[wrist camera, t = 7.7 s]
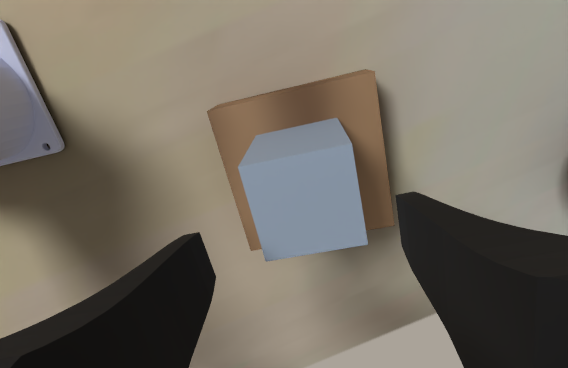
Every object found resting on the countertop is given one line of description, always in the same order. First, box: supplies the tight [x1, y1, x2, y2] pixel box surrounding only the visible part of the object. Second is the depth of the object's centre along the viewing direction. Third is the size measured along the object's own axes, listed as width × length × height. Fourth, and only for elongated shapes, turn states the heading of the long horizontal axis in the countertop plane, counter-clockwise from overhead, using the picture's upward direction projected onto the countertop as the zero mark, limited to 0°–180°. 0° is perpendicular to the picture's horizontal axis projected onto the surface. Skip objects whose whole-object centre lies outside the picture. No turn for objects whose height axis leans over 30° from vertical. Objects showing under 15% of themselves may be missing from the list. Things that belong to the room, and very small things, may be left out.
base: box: [207, 69, 394, 251], centre depth 20 cm, size 9×9×2 cm
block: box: [238, 118, 368, 261], centre depth 16 cm, size 4×4×6 cm
